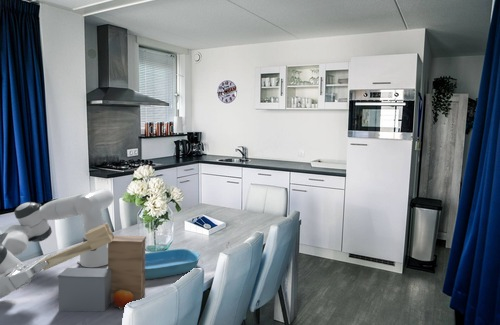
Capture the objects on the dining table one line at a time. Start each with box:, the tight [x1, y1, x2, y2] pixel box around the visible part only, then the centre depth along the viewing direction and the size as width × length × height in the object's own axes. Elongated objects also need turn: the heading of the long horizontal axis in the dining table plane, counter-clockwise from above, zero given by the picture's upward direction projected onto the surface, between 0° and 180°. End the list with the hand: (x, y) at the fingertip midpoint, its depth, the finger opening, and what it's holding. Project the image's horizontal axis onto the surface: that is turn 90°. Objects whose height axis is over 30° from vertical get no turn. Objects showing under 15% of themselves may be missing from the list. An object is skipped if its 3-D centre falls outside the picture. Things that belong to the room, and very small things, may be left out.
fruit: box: [112, 290, 134, 311], centre depth 150 cm, size 8×8×8 cm
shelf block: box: [107, 234, 147, 301], centre depth 158 cm, size 7×14×26 cm, turn 93°
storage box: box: [57, 267, 112, 312], centre depth 148 cm, size 8×18×14 cm, turn 93°
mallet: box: [40, 222, 115, 271], centre depth 147 cm, size 7×28×7 cm, turn 101°
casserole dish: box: [145, 248, 201, 280], centre depth 188 cm, size 37×22×7 cm, turn 122°
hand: (50, 259), depth 145 cm, fingers closed on mallet, 4 cm apart
